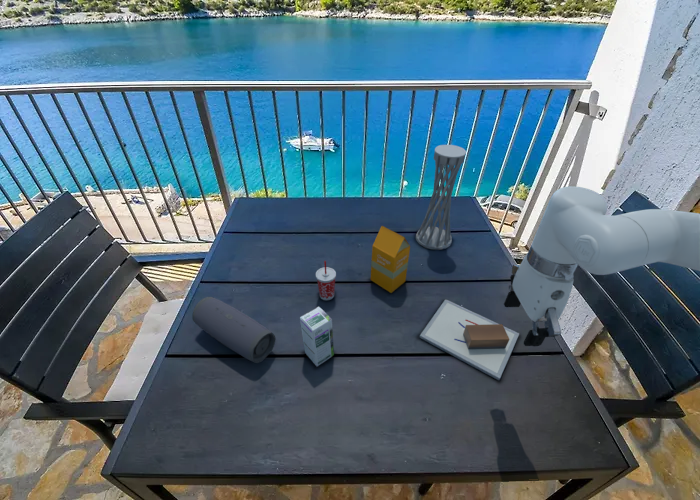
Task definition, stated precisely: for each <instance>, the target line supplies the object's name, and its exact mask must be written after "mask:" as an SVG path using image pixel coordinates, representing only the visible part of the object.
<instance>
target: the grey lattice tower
mask: <svg viewBox="0 0 700 500" xmlns="http://www.w3.org/2000/svg"><path fill="white" fill-rule="evenodd" d="M466 154H467V151H466V150H465V148H463V147H462V146H458V145H455V144H440V145H437V146H436V147H435V148H434V153H433V160H434V162H435V170H434V179H433V190H432V195H431V198H430V201H429V204H428V207H427V210H426V213H425V217H424V219H423V221H422V223H421V225H420V227H419V229H418V230H417V232H416V234H415V241H416V242H417V243H418V245H420V246H422V247H423V248H426V249H429V250H445V249H447V248H449V247H451V245H452V242H453V237H452V234H451V206H452V194H453V191H454V186H455V184H456V180H457V176H458V173H459V171H460V170H461V166H462V164H463V163H465V158H466ZM444 169H445V170H444ZM444 171H445V174H444ZM436 201H437V202H436ZM441 203H442V204H441ZM442 212H443V215H442ZM436 213H437V216H436V218H434V217H435V215H436ZM434 219H435V220H434ZM437 225H438V227H437ZM444 226H445V228H444Z"/></svg>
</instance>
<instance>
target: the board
mask: <svg viewBox="0 0 700 500" xmlns="http://www.w3.org/2000/svg"><path fill="white" fill-rule="evenodd" d="M490 324H499V323H498V322H495V321H493V320H491V319H489V318H487V317H485V316H483V315H481V314H479V313H476V312H474V311H472V310H470V309H467V308H465V307H463V306H461V305H459V304H457V303H455V302H453V301H451V300H448V299H444V301H443V302H442V304H441V305H440V306H439V308H438V309H437V311H436V312H435V314H434V315H433V316H432V317H431V319H430V320H429V322H428V323H427V325H425V327H424V329H423V330H422V331H421V333H420V335H419V339H421V340H422V341H424V342H426V343H429V344H430V345H432V346H434V347H436V348H438V349H439V350H442V351H443V352H446V353H447V354H449V355H451V356H453V357H455V358H456V359H458V360H460V361H462V362H464V363H466V364H468V365H469V366H471V367H473V368H475V369H477V370H479V371H481V372H482V373H484V374H486V375H488V376H490V377H491V378H494V379H495V380H497V381H500V380H501V378H502V375H503V373H504V370H505V368H506V366H507V364H508V362H509V359H510V356H511V355H512V352H513V350H514V347H515V345H516V343H517V341H518V339H519V336H520V333H519V332H517V331H515V330H513V329H511V328H508V327H506V326H504V325H503V327H504V329H505V331H506V333H507V335H508V337H509V342H508V344H507V346H506V348H505V349H468V347H467V345H466V342H465V339H464V336H463V333H464V329H465V326H466V325H490Z"/></svg>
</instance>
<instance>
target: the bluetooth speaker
mask: <svg viewBox="0 0 700 500" xmlns="http://www.w3.org/2000/svg"><path fill="white" fill-rule="evenodd" d="M191 318H192V322H193V323H194V324H196V326H198V327H199V328H200V329H201V330H203V331H204V332H205V333H207V335H209V336H210V337H211V338H213V339H215V340H216V341H217V342H218V343H219V344H221V345H222V346H224V347H226V348H228V349H230V350H231V351H232V352H234V353H236V354H238V355H240V356H242V357H243V358H245V359H246V360H248V361H251V362H252V363H255V364H259V363H261V362H263V361H264V360H265V359H266V358H267V357H268V356H269V355H270V354H271V353H272V351H273V350H274V347H275V345H276V335H275V333H273V332H272V330H270V329H269V328H267V327H265V326H264V325H263V324H261V322H258V321H257V320H255V319H254V318H252V317H250V316H249V315H247V314H246V313H244V312H242V311H241V310H239V309H237V308H235V307H234V306H232V305H230V304H228V303H226V302H224V301H222V300H220V299H219V298H215V297H213V296H206V297H203V298H201V299H200V300H199V301H198V302H197V303H196V305H195V306H194V308H193V310H192V317H191Z"/></svg>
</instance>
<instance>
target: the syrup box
mask: <svg viewBox="0 0 700 500" xmlns="http://www.w3.org/2000/svg"><path fill="white" fill-rule="evenodd" d="M299 324H300V329H301V335H302V343H303V349H304V353H305V354H306V356H307V357H308V358H309V359H310V361H311V362H312V363H313V364H314V365H315V366H316V367H319V366H320V365H322V364H323V363H325V362H326V361H328V360H329V359H330V358H332V357H333V356H335V348H334V346H335V345H334V333H333V332H334V331H333V319H332V318H331V316H329V315H328V313H326V312H325V310H323V309H322V308H321V307H320V306H317V307H315V308H314V309H312V310H310V311H308V312H307V313H305V314H303V315H301V316H300V317H299Z"/></svg>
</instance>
